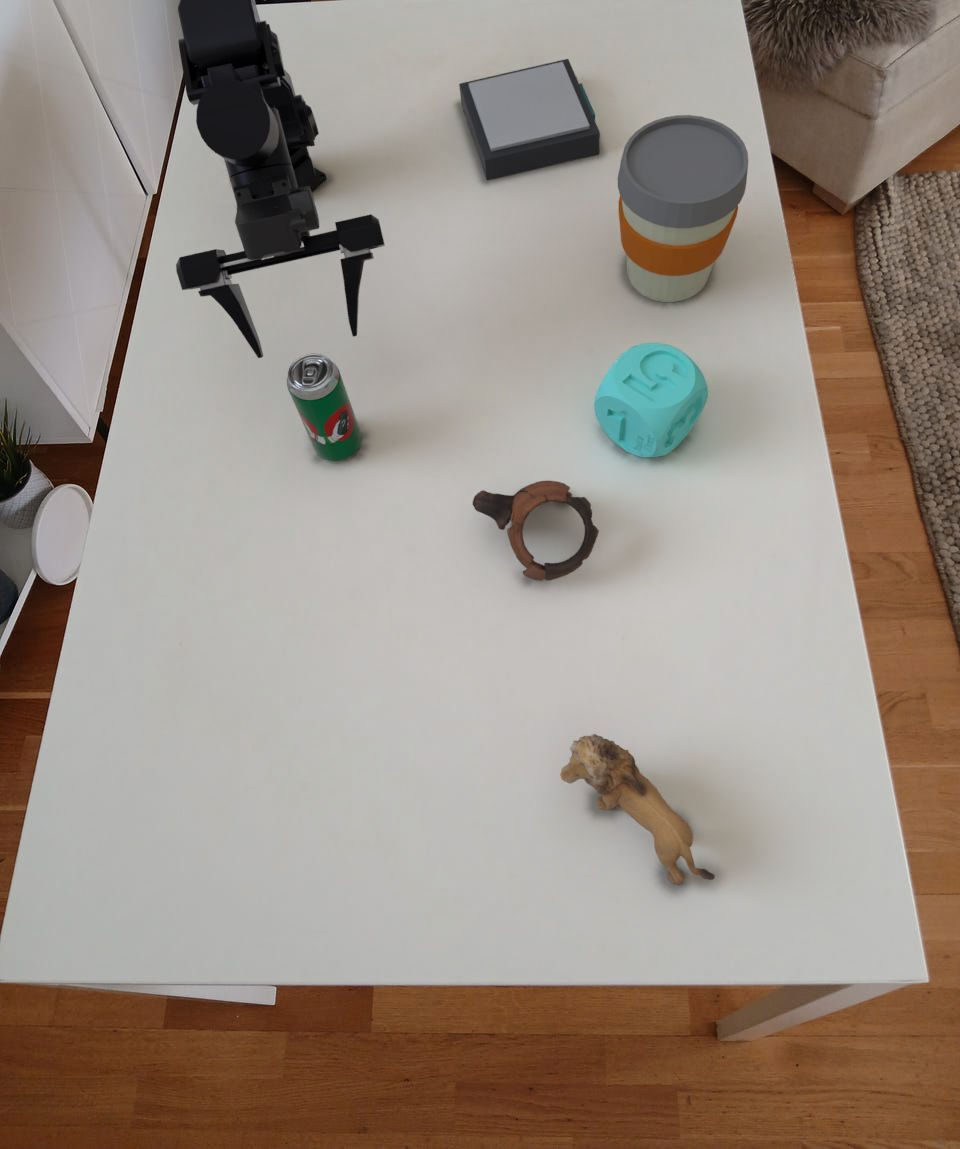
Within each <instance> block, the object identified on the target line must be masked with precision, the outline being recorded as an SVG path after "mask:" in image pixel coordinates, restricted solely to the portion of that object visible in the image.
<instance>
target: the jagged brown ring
mask: <svg viewBox="0 0 960 1149" xmlns="http://www.w3.org/2000/svg"><path fill="white" fill-rule="evenodd" d="M570 489H571V487H570V486H569V485H567V484H566V483H564V482H561V481H555V480H540V481H535V482H533V483H531V484H528V485H526V486H524V487H522V488H520V489H518V491H516V493H515V494H514V495H510V494H502V493H492V492H490V491H486V490H484V489H482V490H480V491H479V492H477V493H476V494H474V496H473V499H472V505H473V507H474V508H473V509H474V510H475V511H476V512H478V513H481V514H483V515H486V516H487V517H490V518H491V519H492V520H494V522H495V524H496V525H497V527H498V529H499V530H501V531H504V530H505V529H506V534H507V537H508V540H509V545H510V547H511V549H512V551H513V554H514V555H515V557H516V559H517V560H518V561H519V563H520V564H521V565H522V566H523V567H524V568H525V570H523V571H522V575H523V576H524V577H526V578H529V579H531V580H534V581H541V582H542V581H543V580H545V581H552V580H557V579H559V578H562V577H565V576H568V575H569V574H572V573H573V572H575V571H576V570H577V569H579V568H580V567H582V566H583V564H584V561H585V560H587V559H588V558H589V557H590V555H591V553H592V551H593V549H594V546H595V543H596V541H597V538H598V537H599V532H600V530H599V529H598V527H596V526H595V525H594V523H593V520H592V518H593V510H592V503H591V502H590V501H589V500H588V499H587V498H586V497H585V496H581V497H580V496H573V494H572V493H571V492H570ZM547 503H561V504H566V505H568V506H569V507H571V508H572V509H574V510H575V511H576V512H577V513H578V515H579V517H580V518H581V520H582V522H583V526H584V536H583V541H582V543H581V545H580V547H579V548H578V550H576V552H575V553H574V554H573V555H571V556H570V557H569V558H567V559H565V560H562V561H559V562H544V563H543V564H541V563H539V562H536V561H535V557H534V555H533V554H532V553H531V552H530V551H529V549H528V548H527V546H526V544H525V541H524V534H523V532H524V524H525V522H526V519H527V517H529V515H530V514H531V512H532V511H534V510H535V509H536V508H538V507H539V506H541V505H544V504H547ZM510 521H511V522H510ZM510 523H511V526H510V527H508V528H506V526H508V525H509V524H510Z"/></svg>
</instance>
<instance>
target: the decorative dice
mask: <svg viewBox="0 0 960 1149" xmlns="http://www.w3.org/2000/svg"><path fill="white" fill-rule="evenodd" d="M708 397H709V389H708V384H707V380H706V378H705V375H704V373H703V372H702V371H701V369H700V367H699V365H697V363H696V362H695V361H694V360H693V359H692V358H691V357H690V356H689V355H687V353H685V352H684V351H682V350H681V349H679V348H677V347H675V346H673V345H670V344H666V343H659V342H648V343H641V344H637V345H634V346H631V347H630V348H628V349H627V350H625V351H624V352H622V353H621V355H619V357H618V358H617V359H616V360H615V361H614V363H613V364H612V365H611V366H610V368H609V369H608V370H607V372H606V374H605V375H604V377H603V379H602V380H601V382H600V384H599V387H598V389H597V391H596V394H595V398H594V402H593V403H594V404H593V408H594V413H595V417H596V419H597V421H598V423H599V425H600V428H602V430H603V432H605V434H606V435H607V436H608V438H609V439H611V440H612V442H614V443H615V445H618V447H620V448H621V449H622V450H624V451H626V452H628V453H629V454H631V455H634V456H636V457H641V458H658V457H664V456H667V455H668V454H669V453H671V452H673V451H674V450H675V449H676V448H677V447H678V446H679V445H680V444H681V443H682V442H683V441H684V439H685V438H686V437H687V436H688V435H689V433H690V432H691V430H692V429H693V428H694V426H695V425H696V423H697V422H698V420H699V419H700V417H701V414H702V413H703V411H704V408H705V406H706V403H707V401H708Z"/></svg>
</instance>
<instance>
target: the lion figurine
mask: <svg viewBox="0 0 960 1149" xmlns="http://www.w3.org/2000/svg"><path fill="white" fill-rule="evenodd" d="M569 750H570V752H571V754H570V755H571V756H570V758H569V762H568V763H567V764H566V765H564V766H563V767H562V768H561V771H560V773H559V775H560V778H561V780H562V781H563V782H565V783H567V784H573V783H575V782H577V781H578V780H584V782H585V783H586V784H588V786H591V787H592V788H593V789H594V790H595V791H597V792H598V794H600V795H601V796H599V797H598V798H597V802H596V803H597V805H598V809H600V810H604V811H609V810H612V809H613V808H616V806H619V805H620V807H621V808H622V810H623V811H624V812H625V813H626V814H627V815H628V816H629V817H630V818H632V819H633V820H634V821H635V822H636V823H637V824H638V825H639V826H641V827H642V828H643V829H646V830H647V831H648V832H650V833H651V834H652V836H653V841H654V843H653V845H654V850H655V853H656V856H657V859H658V860H659V861H660V863H661V864H662V866H663V867H664V868H665V869H666V870H667V871H668V872H667V879H668V881H669V882H670V883H671V884H673V885H680V884H682V883H683V882H685V875H684V872H683V871H682V870H681V869H680V868H679V867H678V866H677V862H678V861H679V858H681V857H682V859H683V860H684V861H685V862H686V865H687V868H688V870H689V872H690V873H692V874H693V875H697V876H701V877H702V878H703V879H704V880H708V881H713V880H715V879H716V876H715V874H714V873H712V872H710V871H708V870H707V869H706V868H700V867H696V865H695V860H694V856H693V853H692V849H691V847H692V846H693V843H694V834H693V831H692V828H691V827H690V825H689V824H688V822H687V821H686V820H685V819H684V818H683V817H682V816H681V815H679V814H678V813H677V812H676V811H675V810H674V809H673V808H671V806H670V805H669V803H668V802H667V801H666V800H665V798H664V797H663V795H662V794H661V793H660V791H659V790H658V789H657V788H656V787H655V785H654V784H653V783H652V782H651V781H650V780H649V779H648V778H647V777H646V776H645V775H644V774H642V773H641V771H640V769H639V767H638V766H637V764H636V760H635V758H634V756H633V755H632V754H631V753H630V752H629V750H628V749H624V748H623V747H621V746H620V745H619V744H616V743H615V741H614V740H609V738H608V739H607V738H604V737H603V736H601V735H597V734H596V733H592V734H591V735H583V736H580V737H579V739H578V740H572V743H571V746H570V748H569Z"/></svg>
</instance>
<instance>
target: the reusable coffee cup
mask: <svg viewBox="0 0 960 1149" xmlns="http://www.w3.org/2000/svg"><path fill="white" fill-rule="evenodd" d="M748 169H749V151H748V150H747V147H746V144H745V142H744V141H743V139H742V138H741V137H740V136H739V135H738V134H737V133H736V131H734V130H733V129H732V128H730V127H729V126H727V125H726V124H724V123H722V122H720V121H717V120H715V119H713V118H709V117H704V116H701V115H692V114H679V115H677V114H676V115H670V116H665V117H661V118H659V119H654V120H653V121H650V122H649V123H646V124H645V125H643V126H642V127H640V128H639V129H637V130H636V131H634V133H633V134H632V135H631V136H630V137H629V138H628V140H627V141H626V143H625V145H624V147H623V151H622V155H621V159H620V165H619V170H618V174H617V189H618V193H619V198H618V221H619V231H620V241H621V246H622V249H623V251H624V253H625V257H626V258H625V259H626V272H627V277H628V280H629V282H630V285H631V286H632V287H633V288H634V290H635V291H636V292H638V293H639V294H640V295H642V296H643V297H644V298H647V299H650V300H653V301H656V302H661V303H662V302H663V303H675V302H681V301H682V302H683V301H685V300H688V299H690V298H692V297H694V296H696V295H697V294H698V293H699V292H701V291H702V290H703V288H704V287H705V286H706V284H707V282H708V280H709V277H710V275H711V272H712V271H713V270H712V269H713V267H714V264H715V263H716V261H717V260H718V259H719V257H720V256H722V254H723V252H724V250H725V247H726V244H727V243H728V239H729V238H730V234H731V232H732V229H733V227H734V224H735V222H736V219H737V216H738V211H739V204H740V203H741V201H743V200H742V199H743V197H744V196H745V193H746V188H747V181H748Z"/></svg>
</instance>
